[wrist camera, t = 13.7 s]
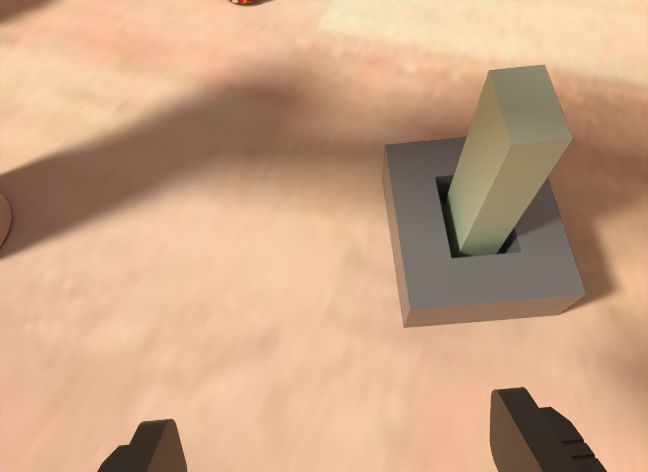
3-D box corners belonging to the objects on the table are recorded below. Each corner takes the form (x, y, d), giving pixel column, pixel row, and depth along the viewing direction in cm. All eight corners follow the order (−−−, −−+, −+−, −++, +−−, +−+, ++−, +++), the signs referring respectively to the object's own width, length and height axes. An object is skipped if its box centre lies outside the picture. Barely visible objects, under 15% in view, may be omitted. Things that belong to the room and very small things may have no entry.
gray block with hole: (403, 327, 36) (410, 309, 32) (382, 178, 42) (384, 145, 38) (558, 315, 36) (586, 294, 31) (513, 165, 42) (532, 130, 38)
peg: (452, 266, 37) (511, 144, 23) (441, 211, 39) (489, 70, 25) (490, 262, 37) (572, 139, 23) (477, 208, 39) (544, 64, 25)
